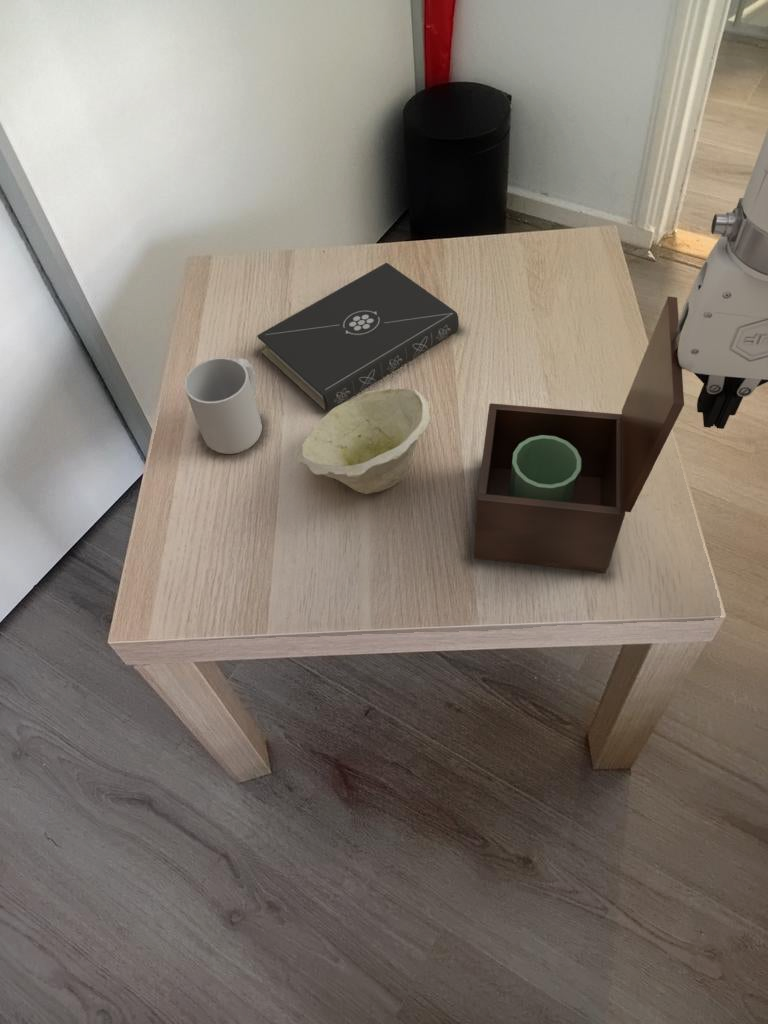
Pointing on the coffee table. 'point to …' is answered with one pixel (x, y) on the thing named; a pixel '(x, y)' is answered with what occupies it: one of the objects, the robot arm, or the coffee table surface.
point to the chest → (542, 523)
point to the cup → (225, 403)
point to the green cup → (545, 469)
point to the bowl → (368, 439)
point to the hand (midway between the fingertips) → (712, 415)
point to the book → (357, 335)
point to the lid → (651, 405)
